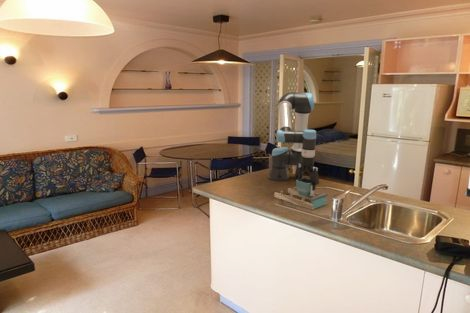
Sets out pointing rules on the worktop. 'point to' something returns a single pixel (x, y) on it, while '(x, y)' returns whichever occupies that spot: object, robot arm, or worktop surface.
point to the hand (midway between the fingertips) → (305, 193)
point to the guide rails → (296, 201)
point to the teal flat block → (319, 200)
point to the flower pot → (304, 186)
